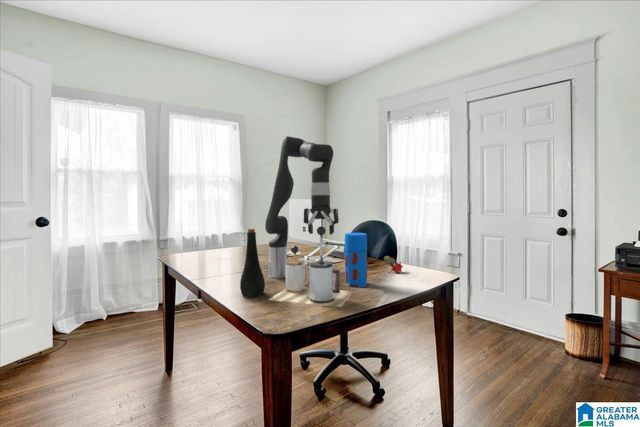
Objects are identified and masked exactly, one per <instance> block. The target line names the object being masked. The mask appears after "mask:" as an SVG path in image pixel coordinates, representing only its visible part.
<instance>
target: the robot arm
mask: <svg viewBox="0 0 640 427" xmlns="http://www.w3.org/2000/svg"><path fill="white" fill-rule="evenodd" d="M281 142H282V143H281V149H280V157H279V163H278V164H279V165H278V170H277V173H276V178H275V182H274V187H273V191H272V192H273V193H272V197H271V202H270V205H269V209H268V212H267V216H266V217H265V218H266V219H265V224H264V225H265V231H266V233H267V234H269V235H275V234H276V236H275V237H274V238H273V239H271V240H269V241H268V253H269V254H268V256H269V257H268V258H269V260H268V261H267V278H268V279H282V278H285V263H286V262H287V261H288V257H287V256H288V254H287V253H288V247H287V246H288V245H287V244H288V238H289V236H288V234H289V233H288V232H289V223H288V219H287V217H286V216H284V215H279V214H280V212H281V210H282V209H283V208H284V206H285V205H286V204H287V203H288V201H289V200H290V198H291V196H292V194H293V190H294V185H295V181H294V179H293V176H292V174H291V171H290V168H289V162H288V161H289V157H291V158H305V159H308V161H309V162H314V163H322V164H321V166H319V167H314V168H313V169H312V170H311V188H310V191H311V192H310V193H311V195H310V196H311V208H308V207H306V208H304V209H303V223H304V224H306V225H307V231H308V233H309V234H310V235H312V234H314V225H313V223H314V222H315V221H316V220H325V221H327V223H329V229H328V230H329V235H333V234H334V233H335V225H336V224H338V223H339V220H340V218H339V209H338V208H331V187H330V169H331V165H332V162H333V158H334V149H333V147H332V146H331V145H330V144H323V143H321V144H320V143H315V142H309V141H306V140H304V139H303V138H299V137H293V136H288V135H286V136H285V137H284V138H283V140H282V141H281ZM310 213H311V215H312V216H311V217H310ZM330 214H333V218H332V217H331V215H330ZM309 218H310V219H309Z"/></svg>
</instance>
